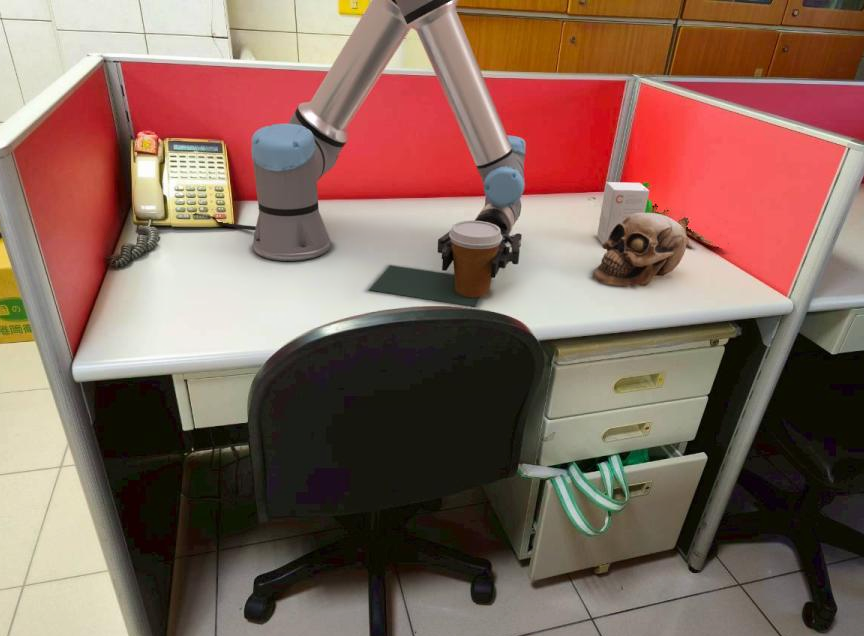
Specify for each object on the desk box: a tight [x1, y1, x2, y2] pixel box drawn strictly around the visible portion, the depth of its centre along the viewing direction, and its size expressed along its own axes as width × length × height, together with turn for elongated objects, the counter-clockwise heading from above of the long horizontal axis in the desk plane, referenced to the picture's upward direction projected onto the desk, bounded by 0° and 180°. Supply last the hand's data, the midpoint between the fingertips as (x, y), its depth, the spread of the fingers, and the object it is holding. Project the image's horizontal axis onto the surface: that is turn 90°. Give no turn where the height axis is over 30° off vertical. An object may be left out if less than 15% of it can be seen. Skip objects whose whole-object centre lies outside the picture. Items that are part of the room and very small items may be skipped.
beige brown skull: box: [592, 212, 687, 287], centre depth 126 cm, size 16×17×13 cm
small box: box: [596, 181, 650, 245], centre depth 141 cm, size 8×6×13 cm
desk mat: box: [368, 265, 481, 308], centre depth 118 cm, size 20×12×1 cm, turn 77°
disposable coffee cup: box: [449, 220, 503, 298], centre depth 114 cm, size 10×10×12 cm
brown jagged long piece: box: [678, 217, 718, 249], centre depth 147 cm, size 9×5×18 cm
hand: (468, 267), depth 109 cm, fingers closed on disposable coffee cup, 8 cm apart
